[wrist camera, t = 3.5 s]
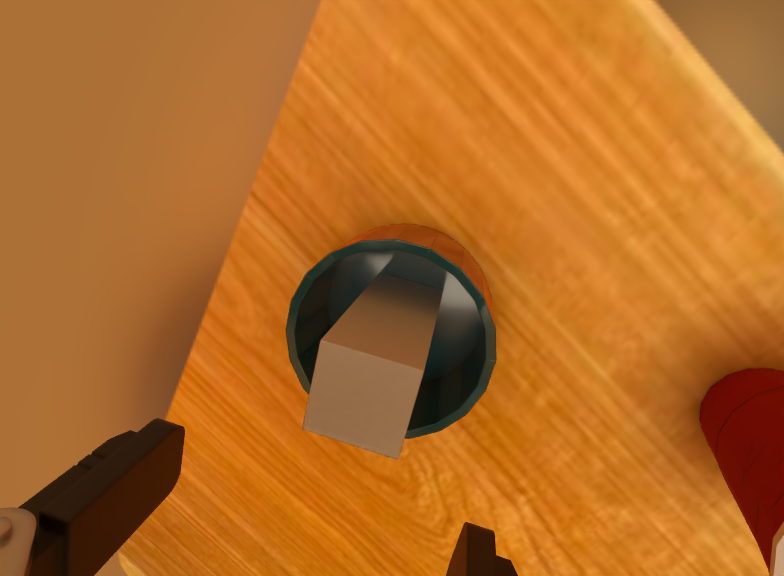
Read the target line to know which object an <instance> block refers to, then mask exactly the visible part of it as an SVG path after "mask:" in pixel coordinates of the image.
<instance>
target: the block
mask: <svg viewBox="0 0 784 576" xmlns="http://www.w3.org/2000/svg"><path fill="white" fill-rule="evenodd" d="M442 294H443V290H440V289H437V288H433V287H430V286H426V285H422V284H419V283H415V282H412V281H408V280H405V279H401V278H398V277H394V276H390V275H387V274H383V273H379V274H378V275H377V276H376V277H375V278H374V279H373V281H372V282H371V283H370V284H369V285H368V286H367V287H366V289H365V290H364V291H363V292H362V293H361V294H360V296H359V297H358V298H357V299H356V300H355V301H354V302H353V304H352V305H351V306H350V307H349V308H348V309H347V310H346V312H345V313H344V314H343V315H342V316H341V317H340V319H339V320H338V321H337V322H336V323H335V324H334V325H333V327H332V328H331V329H330V330H329V331H328V332H327V333H326V335H325V336H324V337H323V338H322V339H321V340H320V345H319V350H318V355H317V359H316V364H315V369H314V374H313V379H312V384H311V388H310V393H309V398H308V403H307V408H306V413H305V417H304V422H303V427H302V428H303V429H304V430H307V431H310V432H313V433H316V434H319V435H323V436H326V437H329V438H332V439H335V440H338V441H341V442H344V443H347V444H350V445H353V446H357V447H360V448H363V449H366V450H369V451H372V452H375V453H378V454H381V455H384V456H387V457H391V458H394V459H399V456H400V452H401V449H402V445H403V442H404V438H405V435H406V432H407V428H408V425H409V421H410V418H411V414H412V411H413V407H414V404H415V401H416V397H417V394H418V390H419V387H420V383H421V380H422V377H423V373H424V369H425V365H426V361H427V357H428V353H429V348H430V344H431V340H432V336H433V332H434V328H435V323H436V319H437V315H438V311H439V307H440V303H441V298H442Z"/></svg>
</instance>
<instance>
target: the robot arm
mask: <svg viewBox="0 0 784 576" xmlns="http://www.w3.org/2000/svg"><path fill="white" fill-rule="evenodd" d="M184 437H185V429H184V427H183V426H180V425H177V424H174V423H171V422H168V421H165V420H162V419H159V418H157V419H154V420H153V421H151V422H150V423H149V424H147V425H146V426H145V427H144V428H142V429H141V430H140V431H139V432H134V431H131V430H130V431H128V432H126V433H123V434H121V435H118V436H115V437H113V438H111V439H109V440H107V441H106V442H105V443H103V444H102V445H101V446H99V447H98V448H97V449H95V450H94V451H93V452H92V454H91V455H88V456H86V457H85V458H84V459H82V460H81V461H79V463H78V464H77V465H76V466H73V467H72V468H70V469H69V470H68V471H66V472H65V473H64V474H62V475H61V476H60V477H58V478H57V479H56V480H54V481H53V482H52V483H50V484H49V485H48V486H46V487H45V488H44V489H42V490H41V491H40V492H39V493H37V494H36V495H35V496H33V497H32V498H31V499H29V500H28V501H27V502H25V503H24V504H22V505H21V506H20V507H18V508H1V509H0V576H94V575H95V574H96V573H97V572H98V571H99V570H100V568H101V567H102V566H103V565H104V564H105V563H106V562H107V561H108V560H109V559H110V558H111V556H113V554H114V553H115V552H116V551H117V550H118V549H119V548H120V547H121V546H122V545H123V544H124V543H125V541H126V540H127V539H128V538H129V537H130V536H131V535H132V534H133V533H134V532H135V531H136V530H137V528H138V527H139V526H140V525H141V524H142V523H143V522H144V521H145V520H146V519H147V518H148V517H149V515H150V514H151V513H152V512H153V511H154V510H155V509H156V508H157V507H158V506H159V505H160V504H161V502H162V501H163V500H164V499H165V498H166V497H167V496H168V495H169V494H170V492H171V491H172V490H173V488H174V486H175V485H176V483H177V480H178V478H179V475H180V471H181V464H182V455H183V446H184ZM446 576H518V575H517V573H516V571H515V568H514V566H513V564H512V562H511V560H508V559H505V558H502V557H499V556H496V547H495V534H494V531H492V530H489V529H486V528H483V527H480V526H477V525H474V524H471V523H468V522H465V523H464V525H463V528H462V530H461V533H460V536H459V539H458V541H457V544H456V547H455V550H454V552H453V555H452V558H451V561H450V563H449V567H448V570H447V574H446Z"/></svg>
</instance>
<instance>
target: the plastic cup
mask: <svg viewBox="0 0 784 576" xmlns="http://www.w3.org/2000/svg"><path fill="white" fill-rule="evenodd" d="M700 422H701V428H702V430H703V432H704V435H705V437H706V440H707V442H708V444H709V446H710V448H711V450H712V452H713V454H714V456H715V458H716V460H717V462H718V465H719V467H720V470H721V472H722V475H723V477H724V479H725V481H726V483H727V485H728V487H729V489H730V491H731V493H732V495H733V497H734V499H735V500H736V502H737V504H738V506H739V508H740V510H741V512H742V514H743V516H744V518H745V520H746V522H747V524H748V526H749V528H750V530H751V532H752V534H753V536H754V537H755V539H756V541H757V543H758V546H759V548H760V551H761V553H762V555H763V558H764V561H765V563H766V565H767V568H768V572H769V576H784V372H783V371H780V370H774V369H746V370H743V371H740V372H737V373H734V374H731V375H728V376H726V377H725V378H724V379H722V380H721V381H720V382H718V383H717V384H715V385H714V386H713V387H711V389H710V390H709V392H708V394H707V395H706V397H705V399H704V400H703V402H702V403H701V413H700Z"/></svg>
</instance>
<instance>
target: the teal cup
mask: <svg viewBox="0 0 784 576" xmlns="http://www.w3.org/2000/svg"><path fill="white" fill-rule="evenodd" d="M379 273H383V274H387V275H390V276H394V277H398V278H401V279H405V280H408V281H412V282H415V283H419V284H422V285H426V286H430V287H433V288H437V289H440V290H443V294H442V298H441V303H440V307H439V311H438V315H437V319H436V323H435V328H434V332H433V336H432V340H431V344H430V348H429V353H428V357H427V361H426V365H425V369H424V373H423V377H422V380H421V383H420V387H419V390H418V394H417V397H416V401H415V404H414V407H413V411H412V414H411V418H410V421H409V425H408V428H407V432H406V435H405V438H404V439H410V438H415V437H419V436H423V435H427V434H431V433H435V432H439V431H440V430H443V429H444V428H446V427H448V426H449V425H451V424H452V423H454V422H456V421H457V420H459V419H460V418H462V417H463V416H465V415H466V414H467V413H468V412H469V411H470V410H471V408H472V407H473V406H474V405H475V403H476V402H477V401H478V400H479V398H480V397H481V396H482V395H483V394H484V392H485V390H486V389H487V386H488V383H489V380H490V377H491V374H492V372H493V369H494V366H495V363H496V327H495V320H494V312H493V305H492V297H491V294H490V291H489V288H488V285H487V282H486V279H485V277H484V274H483V272H482V270H481V268H480V267H479V265H478V264H477V262H476V261H475V259H474V258H473V257H472V256H471V255H470V253H469V252H468V251H467V250H466V249H465V248H464V247H463V246H461V245H460V244H459V243H458V242H457V241H455V240H454V239H452V238H451V237H449V236H447V235H445V234H443V233H441V232H439V231H437V230H434V229H431V228H429V227H425V226H420V225H415V224H391V225H386V226H381V227H378V228H375V229H372V230H370V231H368V232H366V233H363V234H361V235H358V236H357V237H355V238H353V239H352V240H350V241H348V242H347V243H345V244H344V245H342V246H340V247H339V248H337V249H335V250H334V251H332V252H331V253H329V254H328V255H327V256H326V257H324V258H323V259H322V260H321V261H320V262H319V263H317V264H316V265H315V266H314V267H313V268H312V269H311V270H309V271H308V272H307V274H305V276H304V278H303V280H302V281H301V283H300V285H299V287H298V289H297V290H296V292H295V294H294V296H293V297H292V299H291V303H290V308H289V314H288V319H287V325H286V337H287V344H288V351H289V358H290V362H291V364H292V366H293V368H294V370H295V372H296V374H297V377H298V379H299V381H300V383H301V385H302V387H303V389H304V390H305V391H306V392H307V393H308V394H309V393H310V388H311V384H312V379H313V374H314V369H315V364H316V359H317V355H318V350H319V345H320V340H321V339H322V338H323V337H324V336H325V335H326V333H327V332H328V331H329V330H330V329H331V328H332V327H333V325H334V324H335V323H336V322H337V321H338V320H339V319H340V317H341V316H342V315H343V314H344V313H345V312H346V310H347V309H348V308H349V307H350V306H351V305H352V304H353V302H354V301H355V300H356V299H357V298H358V297H359V296H360V294H361V293H362V292H363V291H364V290H365V289H366V287H367V286H368V285H369V284H370V283H371V282H372V281H373V279H374V278H375V277H376V276H377V275H378V274H379Z"/></svg>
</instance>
